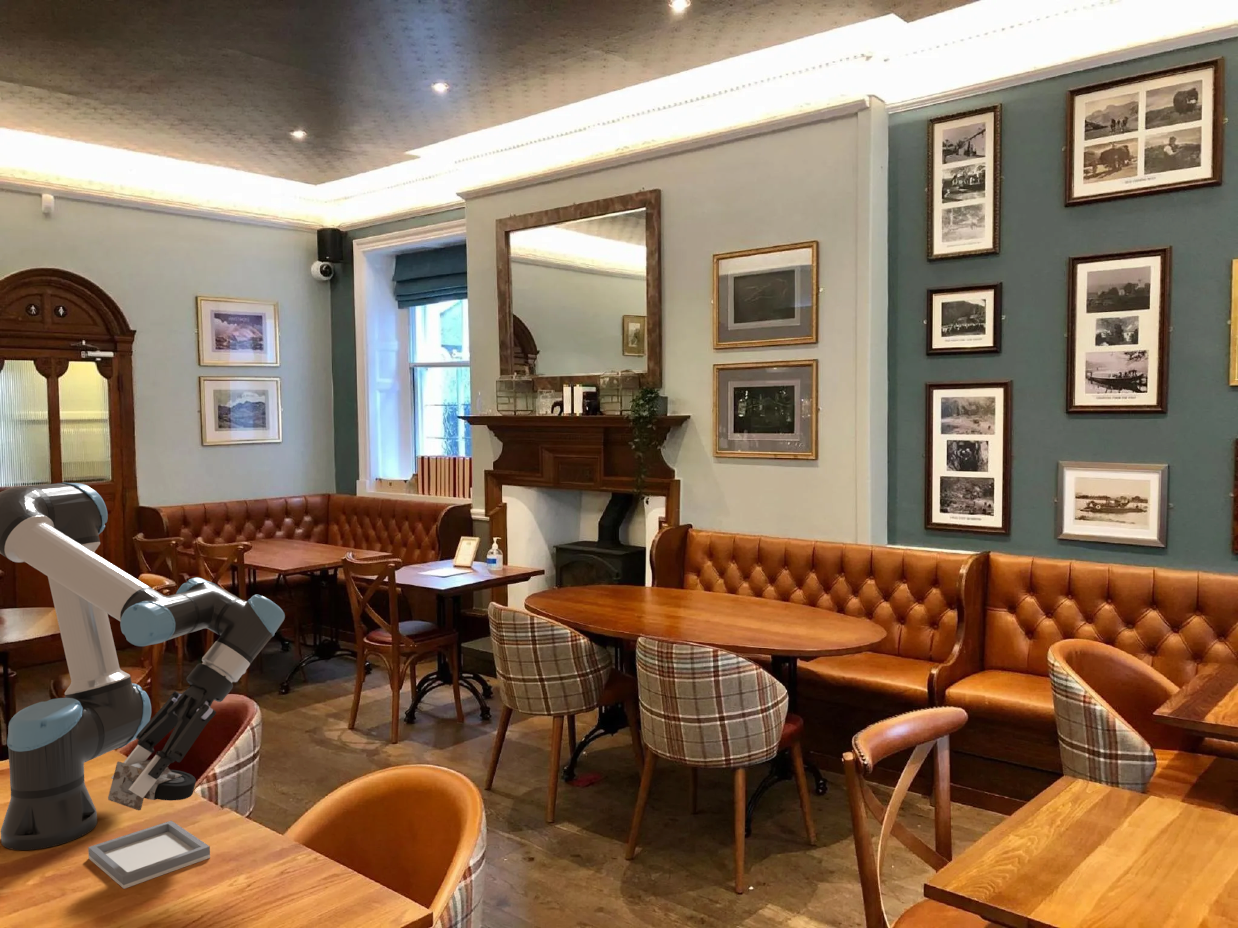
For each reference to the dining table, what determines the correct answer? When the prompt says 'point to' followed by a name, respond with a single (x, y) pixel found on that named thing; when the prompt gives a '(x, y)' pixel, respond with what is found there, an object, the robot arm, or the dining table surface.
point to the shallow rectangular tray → (148, 853)
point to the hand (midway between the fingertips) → (126, 787)
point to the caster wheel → (164, 788)
